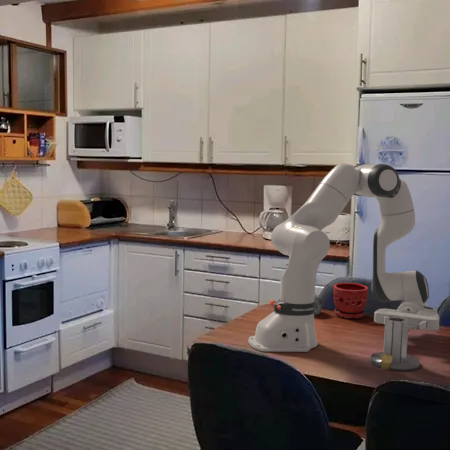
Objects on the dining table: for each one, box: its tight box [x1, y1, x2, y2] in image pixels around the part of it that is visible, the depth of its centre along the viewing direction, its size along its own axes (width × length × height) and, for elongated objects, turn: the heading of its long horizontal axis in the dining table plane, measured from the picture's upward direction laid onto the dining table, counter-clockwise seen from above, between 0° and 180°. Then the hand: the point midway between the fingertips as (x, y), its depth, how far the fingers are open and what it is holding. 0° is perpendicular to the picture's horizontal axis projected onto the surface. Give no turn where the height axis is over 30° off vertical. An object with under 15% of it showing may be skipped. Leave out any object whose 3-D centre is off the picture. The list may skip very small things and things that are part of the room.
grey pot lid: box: [369, 351, 420, 372], centre depth 176 cm, size 14×14×5 cm
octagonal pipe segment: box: [382, 317, 409, 363], centre depth 175 cm, size 6×6×12 cm
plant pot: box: [332, 282, 369, 319], centre depth 231 cm, size 13×13×12 cm
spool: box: [314, 293, 323, 316], centre depth 235 cm, size 14×10×10 cm
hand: (402, 324), depth 186 cm, fingers open, 8 cm apart
